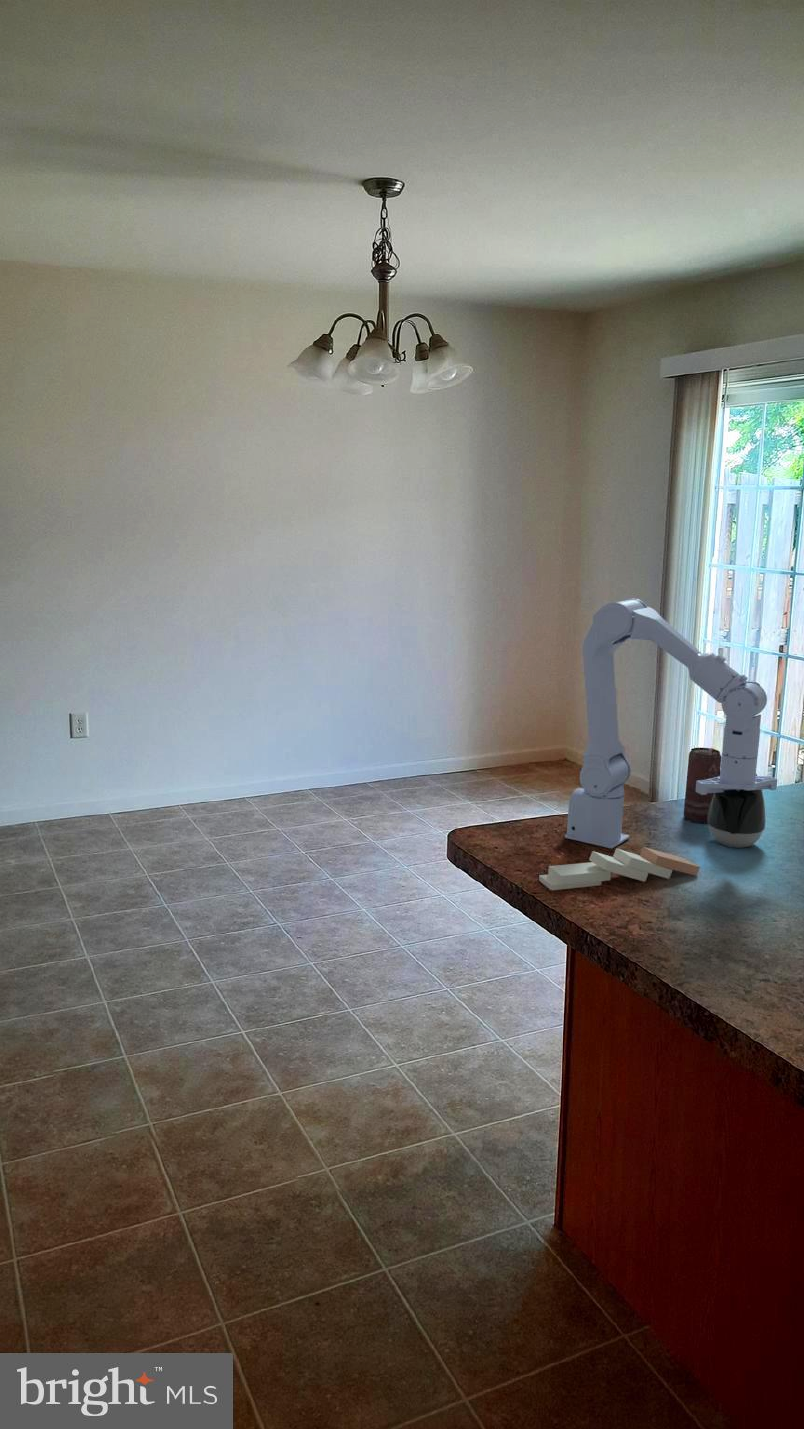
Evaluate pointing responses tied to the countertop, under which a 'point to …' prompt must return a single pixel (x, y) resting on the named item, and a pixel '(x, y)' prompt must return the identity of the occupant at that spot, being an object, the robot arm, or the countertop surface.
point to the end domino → (669, 861)
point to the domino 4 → (641, 863)
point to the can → (699, 768)
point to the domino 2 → (578, 873)
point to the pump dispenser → (750, 825)
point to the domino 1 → (556, 886)
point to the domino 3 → (617, 866)
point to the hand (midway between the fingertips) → (732, 831)
